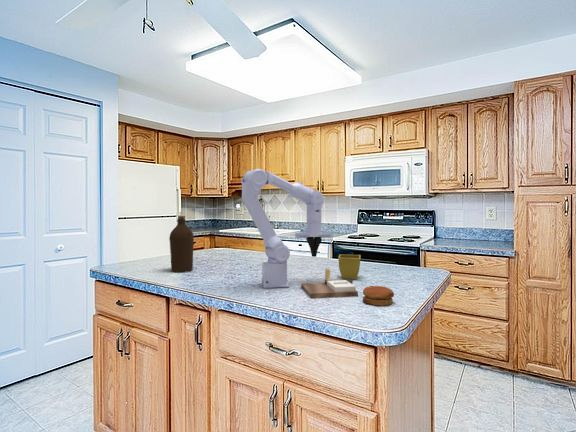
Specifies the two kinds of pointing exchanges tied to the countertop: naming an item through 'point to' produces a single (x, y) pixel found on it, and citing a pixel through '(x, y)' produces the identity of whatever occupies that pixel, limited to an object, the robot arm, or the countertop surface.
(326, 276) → the wooden mallet
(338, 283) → the cover
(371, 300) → the burger
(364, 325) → the countertop surface
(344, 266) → the flower pot
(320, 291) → the board
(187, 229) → the olive oil
